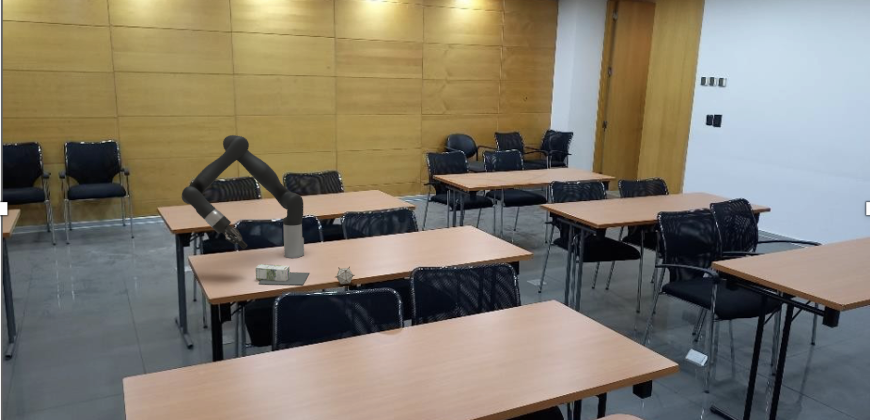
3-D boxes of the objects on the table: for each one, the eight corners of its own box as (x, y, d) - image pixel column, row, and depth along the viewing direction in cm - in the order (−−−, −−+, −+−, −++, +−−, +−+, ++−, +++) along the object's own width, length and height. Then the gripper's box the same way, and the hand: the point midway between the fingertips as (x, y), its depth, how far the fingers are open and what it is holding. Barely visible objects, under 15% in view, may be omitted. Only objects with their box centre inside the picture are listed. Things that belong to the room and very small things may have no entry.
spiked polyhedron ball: (347, 293, 284) (349, 281, 277) (330, 285, 285) (332, 273, 278) (356, 279, 290) (358, 266, 283) (339, 271, 291) (342, 258, 284)
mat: (258, 284, 281) (258, 283, 281) (267, 272, 297) (267, 271, 297) (302, 285, 282) (302, 284, 282) (309, 273, 297) (309, 272, 297)
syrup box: (260, 275, 292) (290, 277, 290) (255, 279, 286) (286, 281, 285) (259, 263, 290) (290, 265, 289) (255, 267, 285) (285, 269, 283)
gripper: (218, 219, 275) (247, 246, 278) (227, 212, 288) (255, 238, 291) (207, 230, 276) (236, 257, 279) (216, 222, 289) (244, 248, 292)
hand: (245, 247), depth 285 cm, fingers closed
